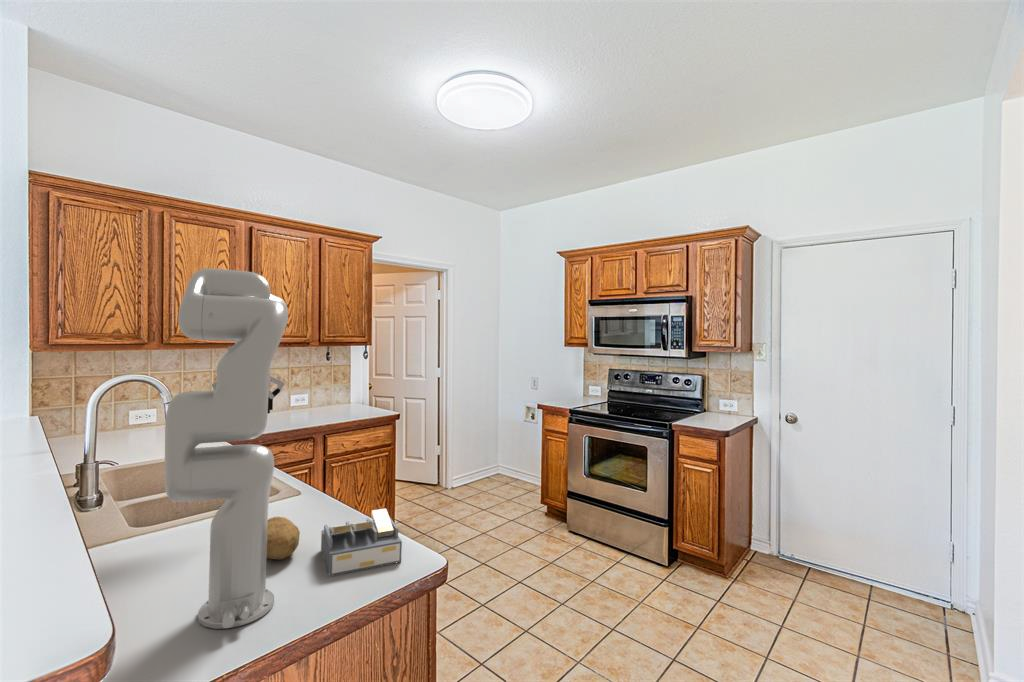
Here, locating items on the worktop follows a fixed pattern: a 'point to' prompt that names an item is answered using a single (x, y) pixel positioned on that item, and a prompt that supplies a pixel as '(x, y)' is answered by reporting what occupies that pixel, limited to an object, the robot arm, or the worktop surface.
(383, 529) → the block
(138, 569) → the worktop surface
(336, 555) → the box
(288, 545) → the potato
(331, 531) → the rocker
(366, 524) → the rocker
